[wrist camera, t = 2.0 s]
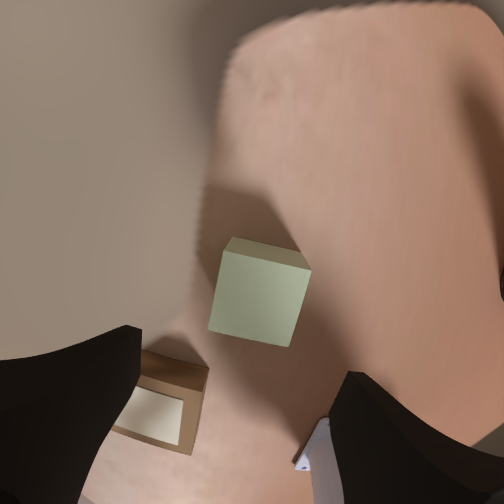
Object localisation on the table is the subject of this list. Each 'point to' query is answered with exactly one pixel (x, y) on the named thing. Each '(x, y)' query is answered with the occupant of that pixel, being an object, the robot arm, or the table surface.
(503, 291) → the deodorant
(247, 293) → the cube
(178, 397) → the base block
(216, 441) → the table surface
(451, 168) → the table surface
